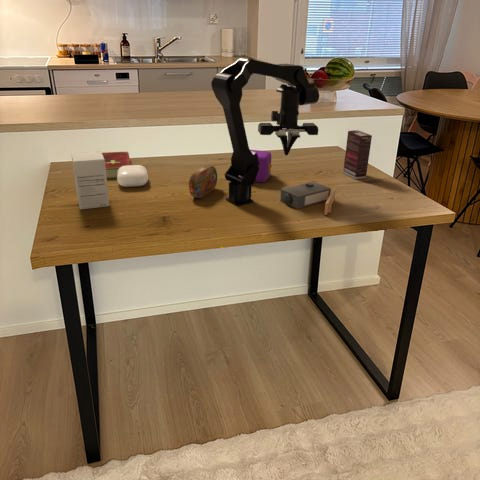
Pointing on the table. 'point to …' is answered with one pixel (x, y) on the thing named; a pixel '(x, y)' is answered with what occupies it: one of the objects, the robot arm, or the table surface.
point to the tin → (203, 181)
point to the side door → (329, 202)
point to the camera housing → (305, 194)
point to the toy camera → (263, 165)
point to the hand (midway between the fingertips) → (286, 155)
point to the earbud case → (132, 175)
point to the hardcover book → (115, 162)
